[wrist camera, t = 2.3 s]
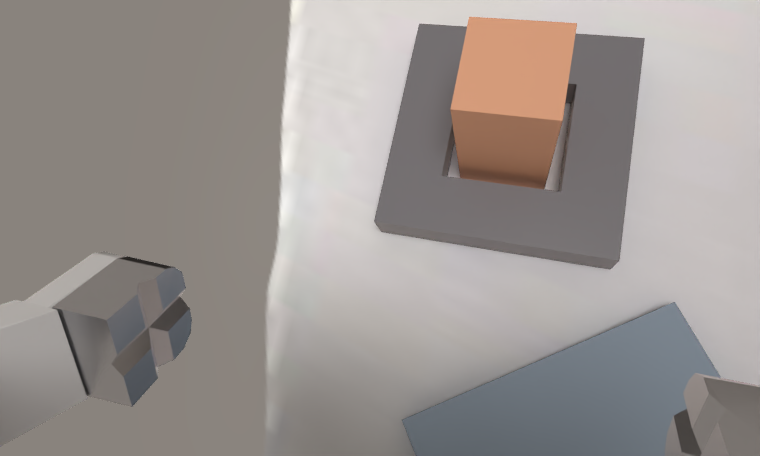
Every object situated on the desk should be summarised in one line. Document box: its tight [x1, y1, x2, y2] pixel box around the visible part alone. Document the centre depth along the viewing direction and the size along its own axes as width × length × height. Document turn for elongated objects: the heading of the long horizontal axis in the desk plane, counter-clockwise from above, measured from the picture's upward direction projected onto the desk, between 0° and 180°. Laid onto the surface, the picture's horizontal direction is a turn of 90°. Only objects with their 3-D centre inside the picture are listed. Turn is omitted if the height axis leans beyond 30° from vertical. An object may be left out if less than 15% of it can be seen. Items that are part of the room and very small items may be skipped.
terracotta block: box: [450, 17, 577, 189], centre depth 26 cm, size 4×4×8 cm
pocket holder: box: [374, 24, 645, 269], centre depth 29 cm, size 12×12×2 cm
